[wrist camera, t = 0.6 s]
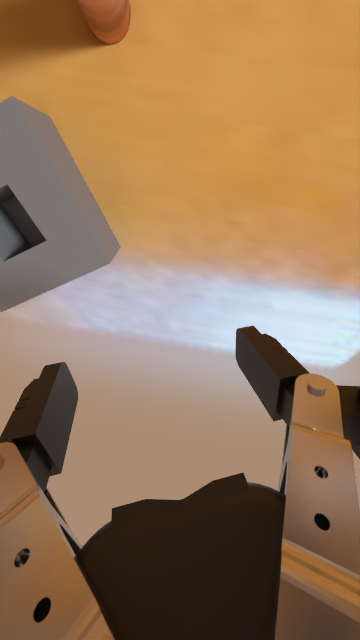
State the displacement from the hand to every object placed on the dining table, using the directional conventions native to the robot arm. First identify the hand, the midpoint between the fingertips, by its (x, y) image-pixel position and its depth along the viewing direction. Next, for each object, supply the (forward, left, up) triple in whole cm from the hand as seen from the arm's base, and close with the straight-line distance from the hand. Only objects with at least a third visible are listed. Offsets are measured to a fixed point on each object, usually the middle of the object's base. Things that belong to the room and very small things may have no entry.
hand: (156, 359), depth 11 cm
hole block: (-9, -12, -23) cm, 27 cm away
